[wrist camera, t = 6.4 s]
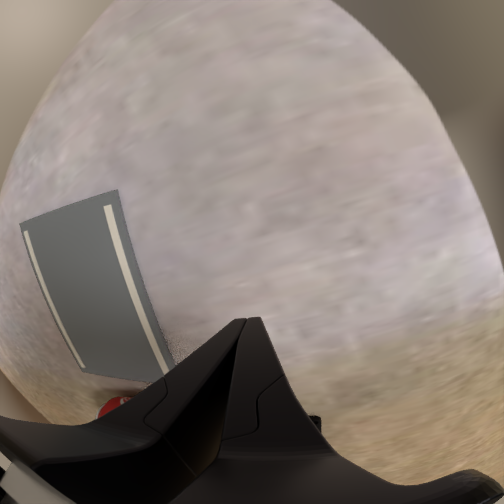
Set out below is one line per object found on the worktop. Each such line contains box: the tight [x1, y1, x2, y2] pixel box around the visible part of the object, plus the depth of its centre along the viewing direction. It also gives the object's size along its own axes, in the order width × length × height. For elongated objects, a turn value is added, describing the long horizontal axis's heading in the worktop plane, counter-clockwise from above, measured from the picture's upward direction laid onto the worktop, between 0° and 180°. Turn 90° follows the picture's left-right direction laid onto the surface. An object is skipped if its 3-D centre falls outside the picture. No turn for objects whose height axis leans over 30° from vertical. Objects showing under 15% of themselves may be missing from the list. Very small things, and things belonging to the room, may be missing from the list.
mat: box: [20, 189, 175, 383], centre depth 20 cm, size 16×12×1 cm
